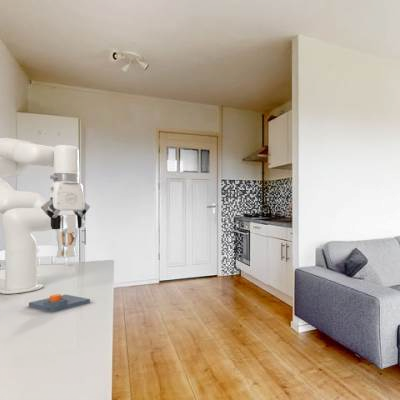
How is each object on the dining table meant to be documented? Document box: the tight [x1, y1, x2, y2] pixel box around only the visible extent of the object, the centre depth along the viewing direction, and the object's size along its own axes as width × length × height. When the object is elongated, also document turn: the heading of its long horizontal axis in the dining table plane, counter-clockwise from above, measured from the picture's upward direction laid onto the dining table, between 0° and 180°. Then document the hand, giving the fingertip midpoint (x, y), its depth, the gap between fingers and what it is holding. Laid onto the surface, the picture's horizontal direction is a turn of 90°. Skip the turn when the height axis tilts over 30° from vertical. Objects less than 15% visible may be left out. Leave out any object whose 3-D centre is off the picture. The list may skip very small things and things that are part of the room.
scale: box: [28, 294, 91, 313], centre depth 110 cm, size 14×12×3 cm
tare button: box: [49, 293, 63, 302], centre depth 105 cm, size 3×3×2 cm
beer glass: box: [54, 214, 79, 259], centre depth 124 cm, size 7×7×15 cm
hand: (66, 228), depth 124 cm, fingers closed on beer glass, 7 cm apart
